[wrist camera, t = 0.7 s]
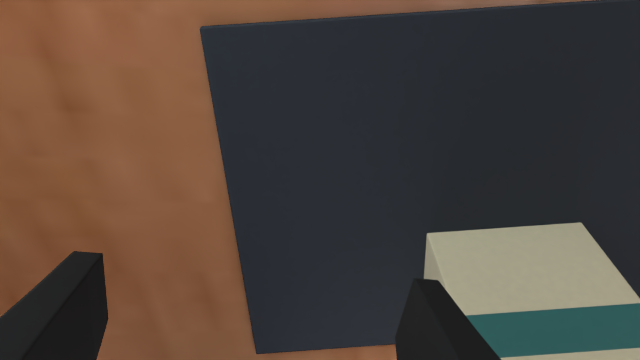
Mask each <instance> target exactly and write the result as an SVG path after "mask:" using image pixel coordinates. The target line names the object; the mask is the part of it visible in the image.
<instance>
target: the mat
mask: <svg viewBox="0 0 640 360" xmlns="http://www.w3.org/2000/svg"><path fill="white" fill-rule="evenodd" d="M200 33H201V39H202V45H203V50H204V56H205V62H206V68H207V73H208V79H209V85H210V91H211V96H212V102H213V108H214V114H215V119H216V125H217V131H218V137H219V142H220V148H221V154H222V160H223V165H224V171H225V177H226V183H227V188H228V194H229V200H230V205H231V211H232V217H233V223H234V228H235V234H236V240H237V246H238V251H239V257H240V263H241V269H242V274H243V280H244V286H245V292H246V297H247V303H248V309H249V315H250V320H251V326H252V332H253V338H254V343H255V349H256V354H264V353H278V352H292V351H306V350H320V349H334V348H348V347H361V346H375V345H389V344H396V343H395V335H396V332H397V329H398V326H399V323H400V319H401V316H402V313H403V310H404V307H405V304H406V300H407V297H408V294H409V291H410V288H411V284H412V281H413V278H419V279H424V268H425V253H426V239H427V233H437V232H451V231H465V230H479V229H494V228H508V227H522V226H537V225H551V224H565V223H579V222H580V223H582V224H583V225H584V227H585V228H586V229H587V231H588V232H589V233H590V235H591V236H592V237H593V238H594V240H595V241H596V242H597V244H598V245H599V246H600V248H601V249H602V250H603V251H604V253H605V254H606V255H607V257H608V258H609V259H610V261H611V262H612V263H613V264H614V266H615V267H616V268H617V270H618V271H619V272H620V273H621V275H622V276H623V277H624V279H625V280H626V281H627V283H628V284H629V285H630V286H631V288H632V289H633V290H634V292H635V293H636V294H637V296H638V297H639V298H640V0H596V1H581V2H566V3H551V4H536V5H520V6H505V7H490V8H475V9H460V10H444V11H429V12H414V13H399V14H384V15H368V16H353V17H338V18H323V19H307V20H292V21H277V22H262V23H247V24H231V25H216V26H202V27H201V28H200Z"/></svg>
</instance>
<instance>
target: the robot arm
mask: <svg viewBox="0 0 640 360" xmlns="http://www.w3.org/2000/svg"><path fill="white" fill-rule="evenodd" d="M107 321H108V309H107V298H106V287H105V276H104V264H103V253H90V252H77V251H74V252H73V253H71V254H70V255H69V256H68V257H67V258H66V259H65V260H63V261H62V262H61V263H60V264H59V265H58V266H57V267H56V268H55V269H54V270H53V271H52V272H51V273H50V274H48V275H47V276H46V277H45V278H44V279H43V280H42V281H41V282H40V283H39V284H38V285H36V286H35V287H34V288H33V289H32V290H31V291H30V292H29V293H28V294H27V295H25V296H24V297H23V298H22V299H21V300H20V301H19V302H17V303H16V304H15V305H14V306H13V307H12V308H10V309H9V310H8V311H7V312H6V313H5V314H4V315H2V316H1V317H0V360H96V359H97V356H98V352H99V349H100V346H101V343H102V339H103V336H104V332H105V329H106V325H107ZM395 343H396V353H397V360H501V359H500V357H499V356H498V355H497V354H496V353H495V352H494V350H493V349H492V348H491V347H490V346H489V344H488V343H487V342H486V341H485V340H484V338H483V337H482V336H481V335H480V333H479V332H478V331H477V330H476V328H475V327H474V326H473V325H472V323H471V322H470V321H469V319H468V318H467V317H466V316H465V314H464V313H463V312H462V310H461V309H460V308H459V307H458V305H457V304H456V303H455V301H454V300H453V299H452V297H451V296H450V295H449V293H448V292H447V291H446V290H445V288H444V287H443V286H442V284H441V283H440V282H439V281H438V280H432V279H419V278H413V281H412V284H411V288H410V291H409V294H408V297H407V300H406V304H405V307H404V310H403V313H402V316H401V319H400V323H399V326H398V329H397V332H396V335H395Z"/></svg>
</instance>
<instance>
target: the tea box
mask: <svg viewBox="0 0 640 360" xmlns="http://www.w3.org/2000/svg"><path fill="white" fill-rule="evenodd" d="M424 279H432V280H438V281H439V282H440V283H441V284H442V286H443V287H444V288H445V290H446V291H447V292H448V293H449V295H450V296H451V297H452V299H453V300H454V301H455V303H456V304H457V305H458V307H459V308H460V309H461V310H462V312H463V313H464V314H465V316H466V317H467V318H468V319H469V321H470V322H471V323H472V325H473V326H474V327H475V328H476V330H477V331H478V332H479V333H480V335H481V336H482V337H483V338H484V340H485V341H486V342H487V343H488V344H489V346H490V347H491V348H492V349H493V350H494V352H495V353H496V354H497V355H498V356H499V357H500V359H501V360H640V298H639V297H638V296H637V294H636V293H635V292H634V290H633V289H632V288H631V286H630V285H629V284H628V283H627V281H626V280H625V279H624V277H623V276H622V275H621V273H620V272H619V271H618V270H617V268H616V267H615V266H614V264H613V263H612V262H611V261H610V259H609V258H608V257H607V255H606V254H605V253H604V251H603V250H602V249H601V248H600V246H599V245H598V244H597V242H596V241H595V240H594V238H593V237H592V236H591V235H590V233H589V232H588V231H587V229H586V228H585V227H584V225H583V224H582V223H580V222H579V223H565V224H551V225H537V226H522V227H508V228H494V229H479V230H465V231H451V232H437V233H427V239H426V253H425V268H424Z"/></svg>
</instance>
